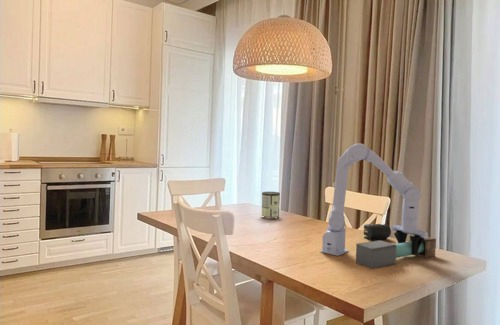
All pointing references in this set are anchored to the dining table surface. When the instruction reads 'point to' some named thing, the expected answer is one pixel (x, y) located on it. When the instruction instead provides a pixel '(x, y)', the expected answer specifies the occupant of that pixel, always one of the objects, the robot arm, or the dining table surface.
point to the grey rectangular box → (375, 254)
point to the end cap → (377, 231)
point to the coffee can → (270, 204)
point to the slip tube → (407, 249)
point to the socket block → (428, 247)
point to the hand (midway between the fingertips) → (408, 252)
